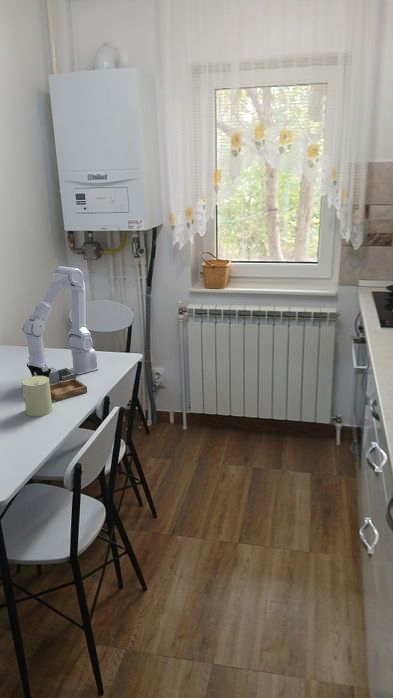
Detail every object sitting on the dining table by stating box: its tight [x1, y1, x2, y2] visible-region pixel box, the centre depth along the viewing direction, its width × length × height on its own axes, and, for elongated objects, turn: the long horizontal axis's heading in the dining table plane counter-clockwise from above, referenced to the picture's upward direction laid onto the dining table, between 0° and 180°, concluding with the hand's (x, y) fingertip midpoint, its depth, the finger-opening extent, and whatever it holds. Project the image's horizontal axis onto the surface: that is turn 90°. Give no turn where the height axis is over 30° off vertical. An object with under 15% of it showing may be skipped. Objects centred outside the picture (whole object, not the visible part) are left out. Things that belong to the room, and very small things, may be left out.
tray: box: [50, 378, 88, 402], centre depth 207 cm, size 13×11×2 cm
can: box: [21, 376, 54, 417], centre depth 191 cm, size 9×9×12 cm
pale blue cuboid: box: [34, 367, 60, 385], centre depth 213 cm, size 8×5×6 cm, turn 127°
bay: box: [57, 367, 77, 382], centre depth 218 cm, size 6×9×4 cm, turn 37°
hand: (40, 383), depth 212 cm, fingers open, 7 cm apart
